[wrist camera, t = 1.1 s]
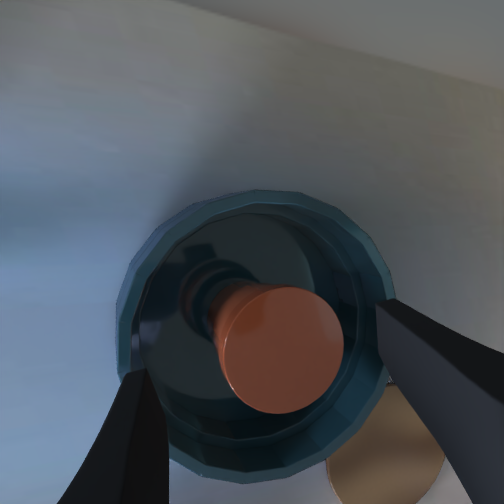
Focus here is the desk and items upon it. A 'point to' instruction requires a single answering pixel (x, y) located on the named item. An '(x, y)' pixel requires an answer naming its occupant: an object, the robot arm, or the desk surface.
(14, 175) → the desk surface
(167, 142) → the desk surface
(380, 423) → the coaster
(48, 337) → the desk surface
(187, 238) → the bowl
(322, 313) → the flower pot
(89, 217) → the desk surface
